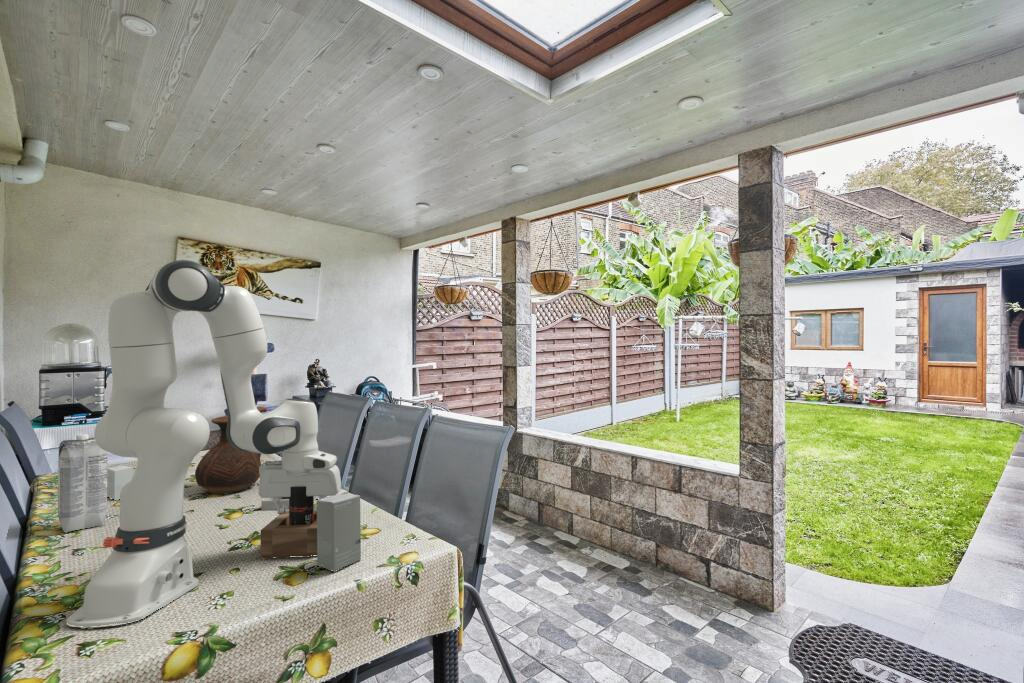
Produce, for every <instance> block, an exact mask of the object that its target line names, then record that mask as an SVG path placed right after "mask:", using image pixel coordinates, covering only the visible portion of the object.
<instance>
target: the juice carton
mask: <svg viewBox="0 0 1024 683" xmlns="http://www.w3.org/2000/svg"><path fill="white" fill-rule="evenodd" d="M57 459H58V463H57V465H58V468H57V470H58V471H57V472H58V473H57V475H58V477H57V480H58V481H57V505H58V506H57V516H58V520H59V523H60V526H61V528H62V531H63V533H64V532H67V531H72V530H79V529H84V530H86V529H85V528H88V529H91V528H90V527H93V528H96V527H95V526H98V527H101V526H100V525H102V526H103V525H104V523H105V520H106V517H107V513H108V498H107V468H108V451H105V450H103V449H102V448H100V447H99V446H98V444H97V443H96V441H95V437H90V435H89V434H78V435H75V439H65V440H62V441H61V442H59V446H58V458H57ZM79 531H80V530H79Z"/></svg>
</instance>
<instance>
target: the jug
mask: <svg viewBox="0 0 1024 683" xmlns="http://www.w3.org/2000/svg"><path fill="white" fill-rule="evenodd" d="M256 408H257V409H258V411H259V412H260V413H262V414H263V413H267V407H266V406H262V405H260V406H256ZM227 422H228V415H225V416H219V417H218V416H217V417H215V418H212V419H211V423H213V424H215V425H218V427H219V430H220V438H219V441H218V443H217V444H215V445H214V446H212V448H210V449H209V450H208V451H207V452H206V453H205V454H204V455H203V456H202V458H201V459H200V461H199V463H198V464H197V466H196V468H195V473H194V476H195V482H196V484H197V486H199V487H200V488H203V489H205V490H206V491H207V492H209V493H211V494H212V495H224V494H223V493H228V494H232V493H231V492H234V493H237V492H241V491H244V490H246V489H248V488H249V487H251V486H253V485H254V484H255V483H256V482H257V481H258V480H260V475H259V467H260V465H261V464H262V463H261V456H262V454H260V453H254V452H248V451H239V450H236V449H234V448H233V447H232V446H231V445H230V444H229V442H228V441H227V437H226V427H227Z"/></svg>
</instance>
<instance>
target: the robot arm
mask: <svg viewBox="0 0 1024 683" xmlns="http://www.w3.org/2000/svg"><path fill="white" fill-rule="evenodd" d="M181 312H198V313H199V314H201V315H202V316H203V317H204V318H205V320H206V323H207V324H208V326H209V331H210V335H211V339H212V342H213V346H214V349H215V353H216V357H217V360H218V366H219V370H220V371H219V372H220V378H221V384H222V388H223V389H222V390H223V394H224V399H225V404H226V405H225V406H226V409H227V416H228V422H227V427H226V437H227V441H228V442H229V444H230V445H231V446H232V447H233V448H234V449H236V450H239V451H248V452H254V453H260V454H261V455H266V456H267V455H274V454H277V453H280V452H281V460H266V461H264V462H263V463H261V465H260V467H259V475H260V477H259V481H258V489H257V490H258V491H257V493H258V496H259V497H260V498H261V499H265V498H273V502H274V504H275V505H276V507H277V508H278V510H277V515H280V514H284V513H286V511H287V510H286V506H283V505H282V503H281V501H280V500H281V499H282V497H290V495H291V491H290V487H302V486H306V495H307V496H319V499H323V498H327V497H329V496H333V495H338V494H339V492H341V489H342V479H341V472H340V469H339V467H338V466H337V465H336V463H337V461H338V457H337V456H336V455H334V454H331V453H327V452H324V451H320V450H319V444H318V441H317V440H318V438H317V437H318V433H319V418H318V417H319V416H318V410H317V407H316V406H317V405H316V404H315V403H314V402H313V401H312V400H309V399H300V398H299V399H298V398H287V399H285V400H284V401H283V402H282V403H281V404H279V406H277V407H276V408H274V409H272V410H270V411H268V412H265V413H263V412H262V413H260V412H259V411H258V409H257V405H256V402H255V400H256V399H255V396H254V391H253V386H252V385H253V384H252V375H253V372H254V370H255V369H256V367H258V366H259V365H260V364H261V363H262V362H264V359H266V356H267V353H268V338H267V335H266V329H265V327H264V326H265V325H264V323H263V319H262V317H261V314H260V311H259V309H258V307H257V304H256V302H255V300H254V298H253V296H252V293H251V292H249V290H247V289H246V288H245V287H242V286H238V285H224V284H223V283H222V282H221V281H220V280H219V279H218V278H217V277H216V276H215V275H214V274H213V273H212V272H211V271H210V270H209V269H208V268H207V267H205V266H204V265H202V264H200V263H199V262H195V261H192V260H187V259H178V260H174V261H170V262H167V263H165V264H163V265H161V266H160V267H159V268H158V269H157V270H156V271H155V272H154V275H153V276H152V278H151V280H150V282H149V284H148V285H147V287H146V289H145V290H144V291H141V292H140V291H139V292H130V293H129V292H128V293H125V294H122V295H120V296H118V297H116V298H114V299H113V301H111V303H110V307H109V312H108V314H109V315H108V323H107V326H108V327H107V330H108V336H107V337H108V338H107V339H108V347H109V356H110V364H111V365H110V366H111V374H112V375H111V376H112V377H111V378H112V386H111V394H110V399H109V403H108V406H107V410H106V412H105V413H104V415H103V416H102V417H101V418H100V419H99V421H98V422H97V424H96V425H95V429H94V432H93V433H94V435H93V436H94V437H95V441H96V443H97V444H98V446H99V447H100V448H102V449H103V450H105V451H107V453H110V454H112V455H115V456H118V457H122V458H136V459H137V464H136V468H135V471H134V473H133V478H132V480H131V481H130V482H129V483H127V484H126V485H125V486H124V487H123V488H122V490H121V492H120V500H119V526H118V527H117V530H116V533H115V535H114V536H113V537H111V536H107V537H105V538H104V541H102V547H103V548H104V549H106V548H107V549H108V548H112V551H111V553H110V554H109V556H108V557H107V558H106V560H105V561H104V562H103V564H102V565H101V566H100V567H99V569H98V570H97V572H96V573H95V575H94V576H93V577H92V578H91V579H90V581H89V582H88V583H87V585H86V587H85V590H84V597H83V603H82V605H81V606H80V607H79V608H78V609H77V610H75V611H74V612H73V613H72V614H71V615H69V617H68V618H66V622H65V624H66V623H68V624H70V625H74V626H83V627H91V626H101V625H108V624H114V623H115V624H116V623H117V624H118V623H119V624H120V623H128V622H132V621H136V620H140V619H143V618H145V617H146V616H148V615H150V614H151V613H153V612H154V611H156V610H158V609H159V610H161V609H163V608H164V607H165V606H167V605H169V604H170V602H171V603H172V602H173V600H174V601H175V600H177V599H178V598H180V597H181V596H183V595H185V594H186V593H188V592H189V591H191V590H192V589H194V588H196V587H198V585H199V584H200V582H199V578H197V577H195V576H194V567H193V558H192V550H191V546H190V545H189V543H188V541H187V540H186V537H185V534H186V531H187V521H186V516H185V515H184V496H185V495H184V494H185V492H184V491H185V482H186V477H187V474H188V471H189V468H190V466H191V464H192V462H193V460H194V458H195V457H196V456H197V455H198V454H199V453H200V452H202V451H203V450H204V448H205V447H206V446H207V445H208V442H209V439H210V434H211V428H210V424H209V422H208V420H207V419H206V418H205V417H204V416H203V415H202V414H199V413H197V412H194V411H192V410H187V409H185V408H181V407H165V397H166V394H167V391H168V389H169V387H170V386H171V385H172V384H173V383H174V382H175V381H176V379H177V378H178V368H177V358H176V357H177V356H176V350H175V349H176V348H175V339H174V334H173V333H174V331H173V323H174V319H175V317H176V316H177V314H178V313H181ZM94 437H93V438H94ZM319 499H318V500H319ZM314 510H315V513H317V504H316V505H314ZM162 607H163V608H162ZM160 608H161V609H160ZM159 610H158V611H159ZM156 612H157V611H156ZM153 614H154V613H153ZM151 615H152V614H151ZM151 615H150V616H151ZM148 617H149V616H148ZM145 619H146V618H145ZM143 620H144V619H143Z"/></svg>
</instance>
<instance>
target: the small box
mask: <svg viewBox="0 0 1024 683" xmlns="http://www.w3.org/2000/svg"><path fill="white" fill-rule="evenodd" d="M133 476H134V467H133V466H128V465H124V464H123V465H118V466H112V467H107V497H109V498H112V499H114V500H116V499H120V492H121V490H122V488H123V487H124V486H125V485H126V484H127V483H129V482H130V481H131V480H132V478H133ZM109 498H108V499H109ZM114 500H113V501H114ZM116 501H117V500H116Z"/></svg>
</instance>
